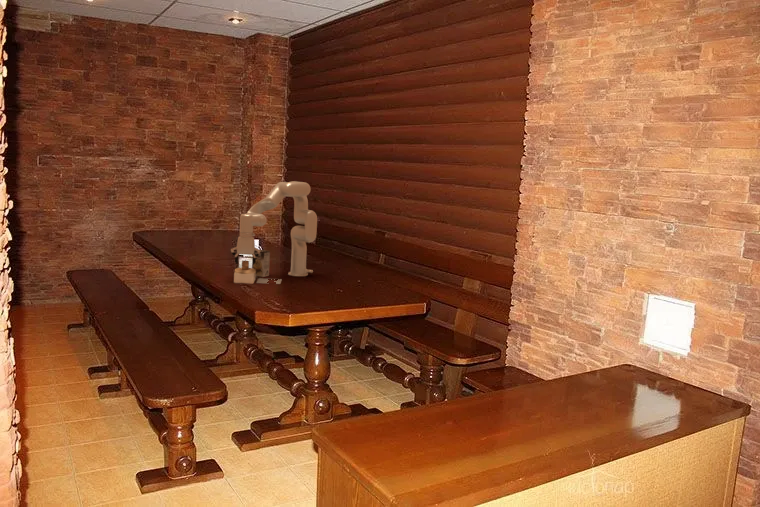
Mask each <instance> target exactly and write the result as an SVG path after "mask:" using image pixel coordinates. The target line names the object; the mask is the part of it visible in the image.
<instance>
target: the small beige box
mask: <svg viewBox="0 0 760 507" xmlns="http://www.w3.org/2000/svg"><path fill="white" fill-rule="evenodd" d="M255 282H256V276H255V273H252V274H240V273H235V272H234V273H233V283H234V284H248V285H249V284H251V285H252V284H254V283H255Z"/></svg>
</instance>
